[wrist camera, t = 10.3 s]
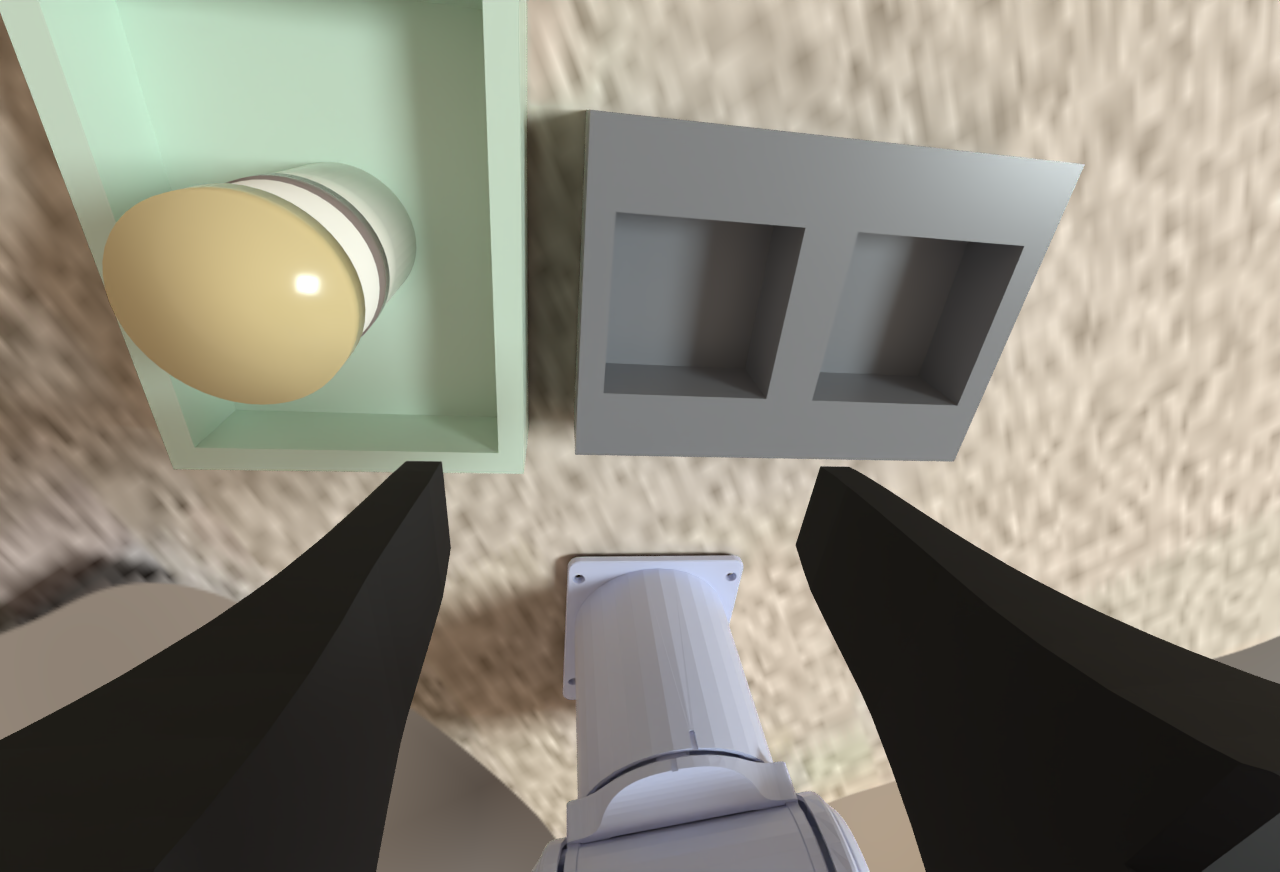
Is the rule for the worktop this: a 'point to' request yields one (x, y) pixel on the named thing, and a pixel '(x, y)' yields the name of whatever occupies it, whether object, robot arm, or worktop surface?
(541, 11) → the worktop surface
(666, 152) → the fuse block
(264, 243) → the cylinder
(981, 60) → the worktop surface
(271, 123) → the parts tray
